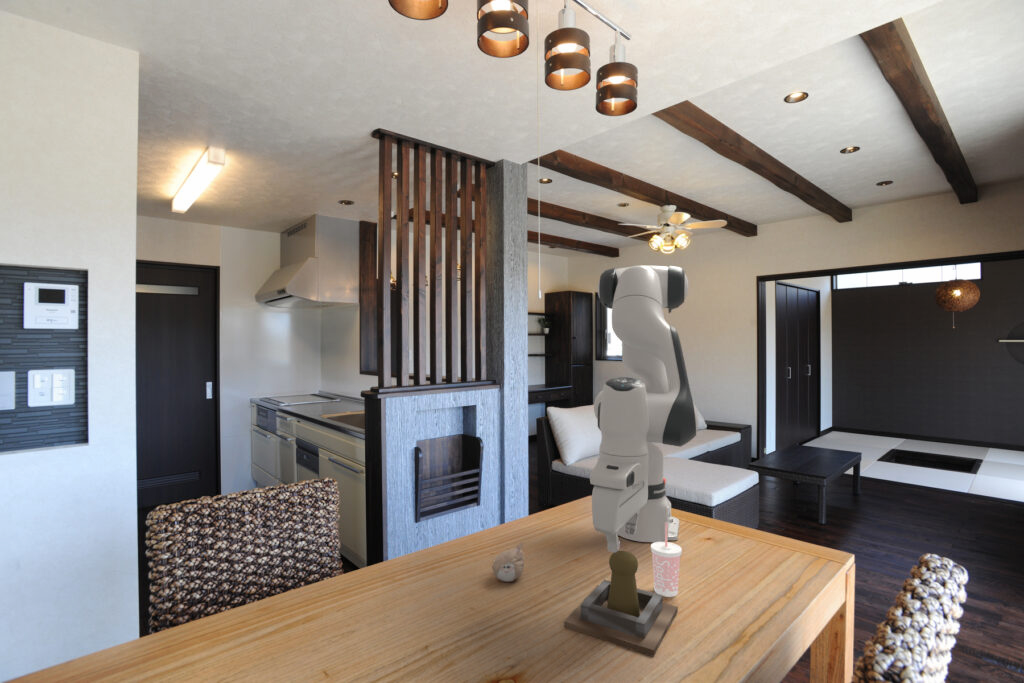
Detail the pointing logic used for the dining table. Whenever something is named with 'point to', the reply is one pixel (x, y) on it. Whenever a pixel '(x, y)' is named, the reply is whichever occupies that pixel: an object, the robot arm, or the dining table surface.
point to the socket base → (624, 620)
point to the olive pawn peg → (623, 583)
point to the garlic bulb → (509, 564)
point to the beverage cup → (666, 566)
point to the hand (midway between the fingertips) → (622, 541)
